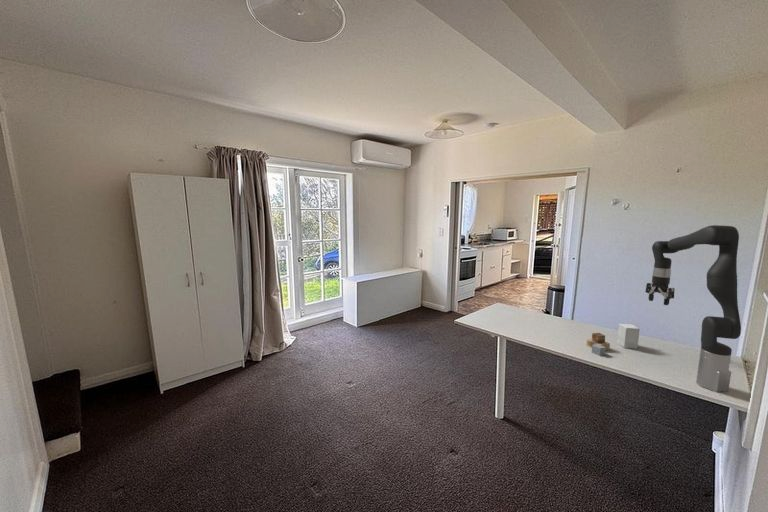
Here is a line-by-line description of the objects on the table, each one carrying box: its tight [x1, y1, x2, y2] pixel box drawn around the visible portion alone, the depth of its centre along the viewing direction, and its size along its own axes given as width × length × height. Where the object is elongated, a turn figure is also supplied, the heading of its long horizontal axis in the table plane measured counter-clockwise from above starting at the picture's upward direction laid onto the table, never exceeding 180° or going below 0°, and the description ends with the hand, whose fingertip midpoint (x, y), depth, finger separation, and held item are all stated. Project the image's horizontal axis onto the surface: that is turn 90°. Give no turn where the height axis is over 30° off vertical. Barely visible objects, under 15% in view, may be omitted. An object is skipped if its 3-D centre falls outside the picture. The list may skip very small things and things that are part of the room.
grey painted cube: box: [591, 344, 606, 357], centre depth 170 cm, size 4×4×4 cm
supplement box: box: [616, 323, 640, 350], centre depth 179 cm, size 7×7×13 cm
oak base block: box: [586, 338, 611, 351], centre depth 178 cm, size 8×8×4 cm
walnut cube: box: [591, 332, 606, 343], centre depth 177 cm, size 4×4×4 cm
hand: (658, 302), depth 172 cm, fingers open, 8 cm apart
